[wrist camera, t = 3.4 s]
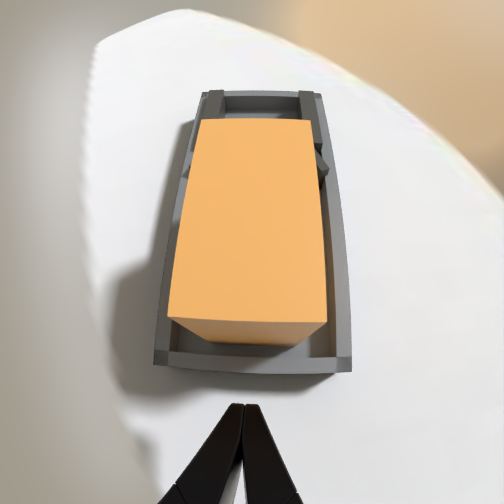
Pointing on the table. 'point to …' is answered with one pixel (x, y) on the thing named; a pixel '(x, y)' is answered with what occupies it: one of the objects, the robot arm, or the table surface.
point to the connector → (251, 236)
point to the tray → (336, 269)
